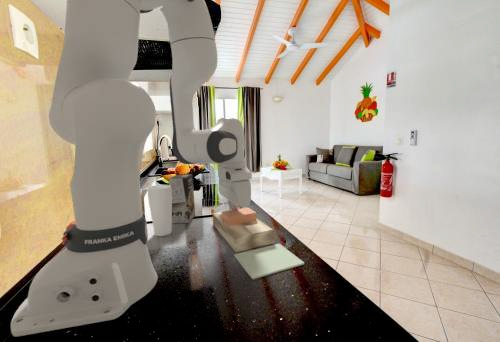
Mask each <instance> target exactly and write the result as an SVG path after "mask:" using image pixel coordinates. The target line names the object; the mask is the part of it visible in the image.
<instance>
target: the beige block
mask: <svg viewBox="0 0 500 342" xmlns="http://www.w3.org/2000/svg"><path fill="white" fill-rule="evenodd" d="M222 212H223V211H219V212H213V213H212V225H213V226H214V228H215V229H216V230H217V231H218V233H219V234H220V235H221V236H222V237H223V239H224V240H225V241H226V242H227V243H228V245H229V246H230V247H231V248H232V250H233V251H234V252H235V253H241V252H245V251H249V250H253V249H255V248H256V249H258V248H262V247H266V246H270V245H274V229H273V228H271V227H270V226H269V225H267V224H266V223H264V222H263V221H261V220H260V218H257V221H252V222H246V223H241V224H236V225H231V226H228V225H227V224H226V223H225V222H224V221H223V220H222Z"/></svg>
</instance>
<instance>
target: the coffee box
mask: <svg viewBox="0 0 500 342" xmlns="http://www.w3.org/2000/svg"><path fill="white" fill-rule="evenodd" d="M193 177H194V175H193V174H192V173H187V174H186V173H185V174H175V175H174V176H171V177H169V178H168V185H170V186H171V192H172V224H188V223H190V222H191V221H192V219H194V217H195V216H196V207H195V192H194V178H193ZM194 215H195V216H194Z"/></svg>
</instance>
